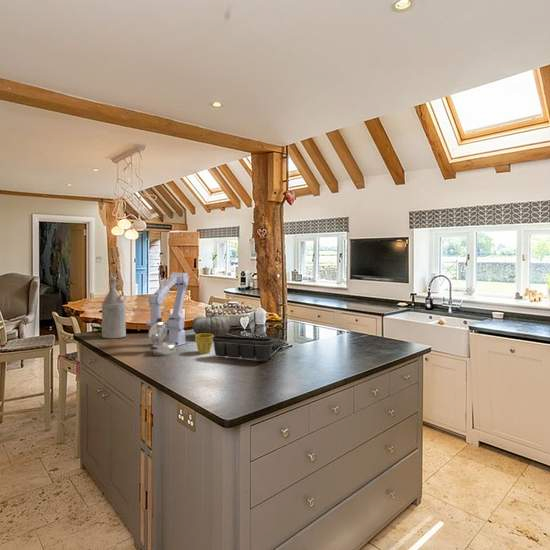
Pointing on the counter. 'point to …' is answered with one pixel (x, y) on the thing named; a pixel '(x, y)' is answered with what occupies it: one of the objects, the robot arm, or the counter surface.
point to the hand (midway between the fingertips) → (155, 339)
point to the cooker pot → (164, 348)
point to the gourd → (211, 325)
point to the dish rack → (246, 345)
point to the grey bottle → (113, 313)
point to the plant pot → (204, 342)
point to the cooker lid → (157, 332)
